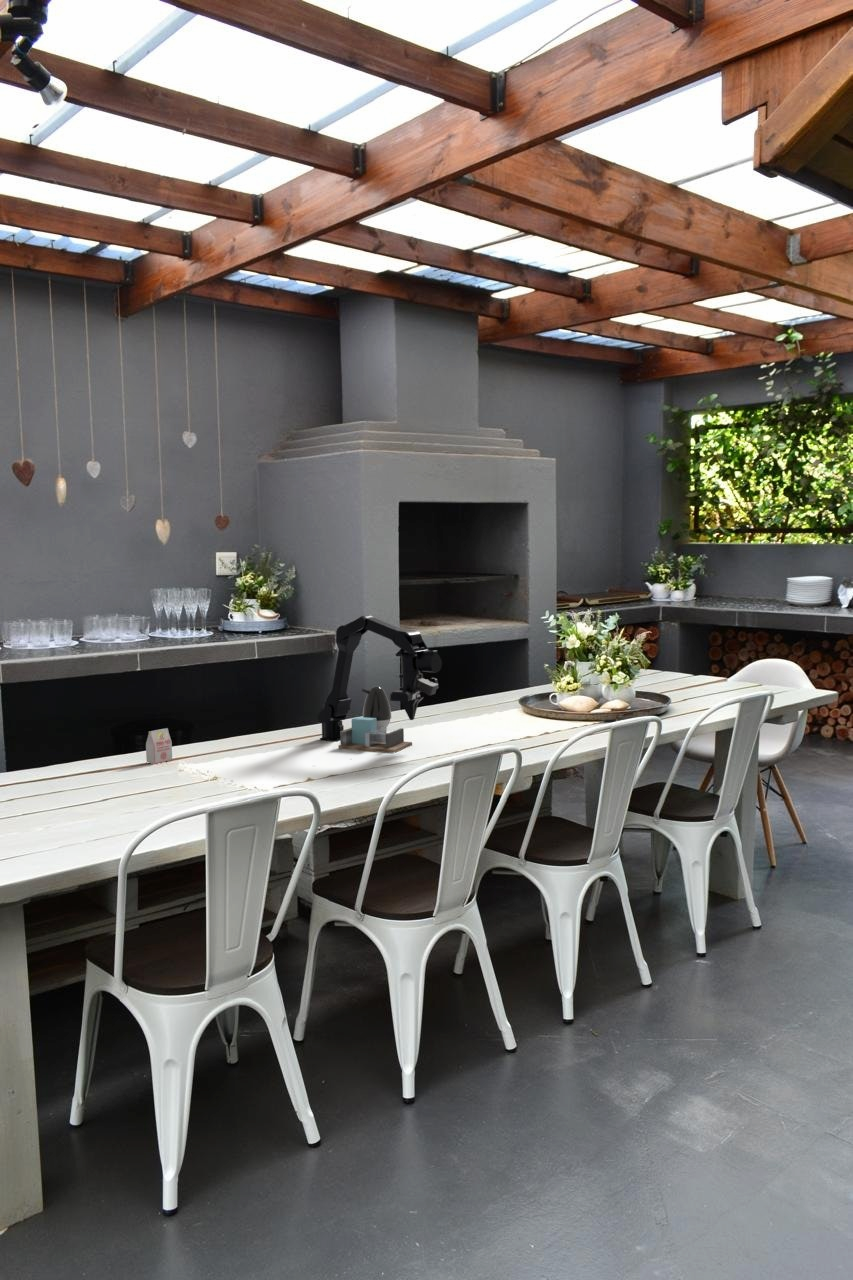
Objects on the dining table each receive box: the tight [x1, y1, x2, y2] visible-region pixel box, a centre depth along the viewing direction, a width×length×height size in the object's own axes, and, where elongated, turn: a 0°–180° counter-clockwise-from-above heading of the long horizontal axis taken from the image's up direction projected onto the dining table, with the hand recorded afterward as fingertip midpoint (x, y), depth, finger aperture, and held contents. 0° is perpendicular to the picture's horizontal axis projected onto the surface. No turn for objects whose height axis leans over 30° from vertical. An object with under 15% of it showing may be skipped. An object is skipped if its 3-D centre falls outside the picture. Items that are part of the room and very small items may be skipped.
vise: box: [338, 727, 413, 753], centre depth 327 cm, size 20×13×6 cm, turn 65°
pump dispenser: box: [360, 685, 392, 729], centre depth 360 cm, size 10×10×15 cm
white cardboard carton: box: [145, 727, 173, 765], centre depth 309 cm, size 4×7×10 cm, turn 142°
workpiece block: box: [351, 716, 377, 744], centre depth 328 cm, size 7×4×8 cm, turn 65°
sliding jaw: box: [365, 727, 405, 748], centre depth 325 cm, size 8×12×4 cm, turn 155°
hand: (411, 719), depth 321 cm, fingers closed
